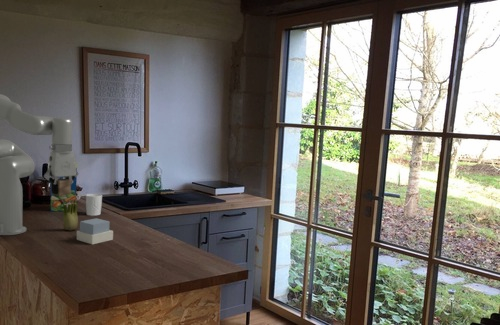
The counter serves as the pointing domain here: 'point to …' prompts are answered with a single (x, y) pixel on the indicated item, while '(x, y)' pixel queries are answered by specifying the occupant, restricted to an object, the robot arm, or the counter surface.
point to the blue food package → (63, 197)
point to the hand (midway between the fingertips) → (61, 192)
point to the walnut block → (64, 187)
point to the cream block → (94, 237)
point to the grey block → (94, 226)
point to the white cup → (93, 204)
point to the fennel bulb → (70, 217)
